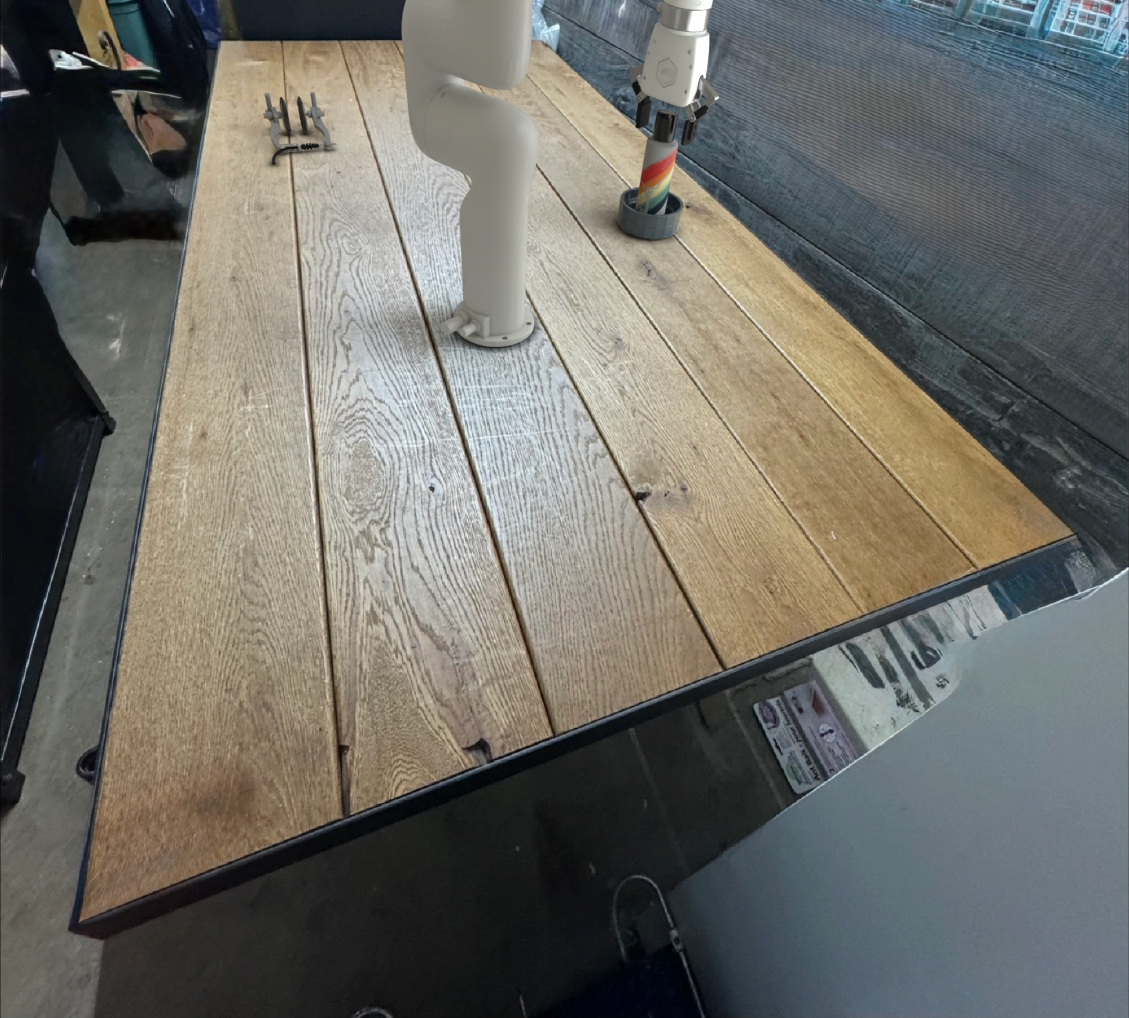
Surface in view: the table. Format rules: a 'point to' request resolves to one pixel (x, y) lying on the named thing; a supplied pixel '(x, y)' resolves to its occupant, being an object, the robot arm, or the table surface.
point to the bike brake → (275, 127)
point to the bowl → (649, 217)
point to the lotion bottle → (658, 165)
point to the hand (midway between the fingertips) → (663, 135)
